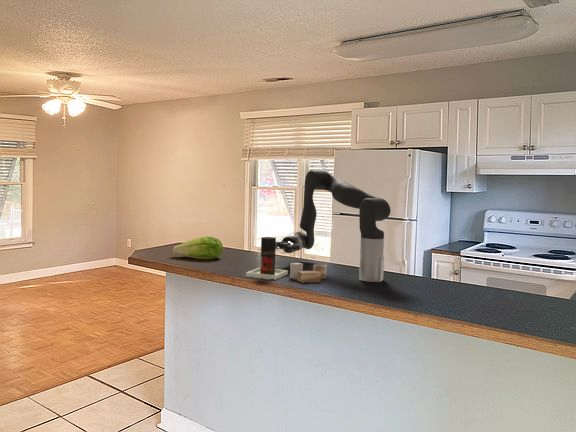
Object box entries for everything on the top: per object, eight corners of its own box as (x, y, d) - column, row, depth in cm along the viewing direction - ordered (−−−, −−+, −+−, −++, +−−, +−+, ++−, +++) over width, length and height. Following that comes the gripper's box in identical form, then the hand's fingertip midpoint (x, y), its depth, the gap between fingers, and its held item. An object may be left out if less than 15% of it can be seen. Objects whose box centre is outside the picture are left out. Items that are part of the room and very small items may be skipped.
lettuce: (177, 244, 247) (171, 232, 236) (225, 243, 246) (221, 230, 235) (174, 265, 240) (168, 254, 230) (223, 264, 239) (219, 252, 229)
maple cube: (326, 276, 201) (326, 264, 200) (325, 279, 196) (325, 266, 196) (314, 276, 202) (314, 264, 201) (312, 278, 197) (313, 266, 196)
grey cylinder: (304, 278, 196) (304, 263, 196) (299, 280, 192) (299, 265, 191) (293, 276, 199) (293, 262, 198) (287, 278, 194) (288, 263, 194)
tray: (287, 274, 202) (287, 270, 202) (275, 280, 190) (275, 275, 190) (259, 271, 207) (259, 267, 207) (246, 276, 195) (246, 272, 195)
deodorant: (257, 273, 199) (258, 237, 198) (268, 272, 203) (269, 236, 202) (266, 276, 194) (268, 239, 193) (277, 274, 199) (278, 238, 198)
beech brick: (320, 282, 190) (320, 272, 189) (301, 283, 187) (302, 273, 186) (316, 280, 193) (316, 270, 193) (297, 281, 190) (298, 271, 190)
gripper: (277, 234, 225) (263, 238, 210) (306, 236, 220) (294, 240, 205) (277, 250, 226) (263, 255, 211) (306, 253, 221) (293, 257, 206)
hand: (278, 247), depth 208 cm, fingers open, 8 cm apart
